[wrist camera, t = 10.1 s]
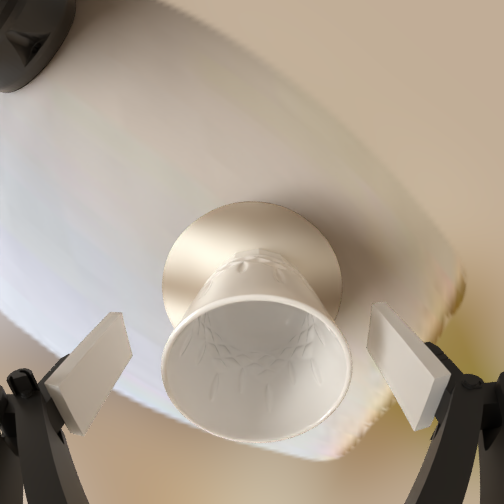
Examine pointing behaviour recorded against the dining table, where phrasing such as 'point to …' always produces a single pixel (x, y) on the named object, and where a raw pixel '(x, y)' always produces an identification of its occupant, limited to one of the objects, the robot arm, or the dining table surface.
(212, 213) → the cake stand
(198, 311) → the white cup
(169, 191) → the dining table surface
